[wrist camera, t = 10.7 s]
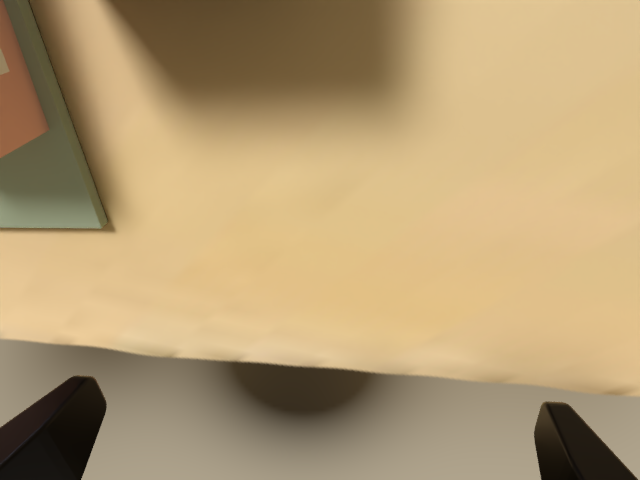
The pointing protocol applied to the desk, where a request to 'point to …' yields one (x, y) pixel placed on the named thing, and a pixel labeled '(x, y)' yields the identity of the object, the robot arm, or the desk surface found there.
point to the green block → (46, 151)
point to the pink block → (16, 93)
